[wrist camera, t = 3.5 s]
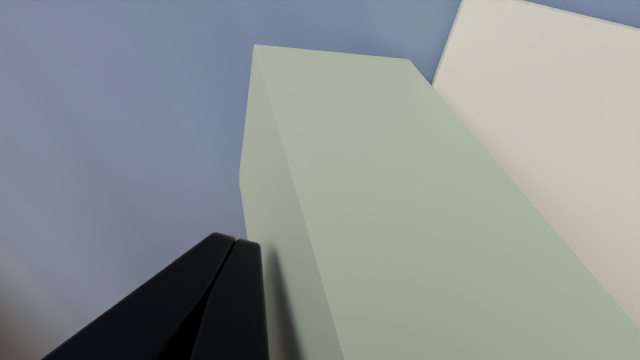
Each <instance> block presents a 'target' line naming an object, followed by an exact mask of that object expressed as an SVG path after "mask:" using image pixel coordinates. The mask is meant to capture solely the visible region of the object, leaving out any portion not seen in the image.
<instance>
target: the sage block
mask: <svg viewBox="0 0 640 360" xmlns="http://www.w3.org/2000/svg"><path fill="white" fill-rule="evenodd" d="M239 184H240V191H241V198H242V205H243V212H244V218H245V225H246V232H247V239H248V240H249V241H253V242H257V243H259V244H260V246H261V255H262V268H263V280H264V293H265V306H266V319H267V332H268V345H269V358H270V360H640V330H639V329H638V327H637V326H636V325H635V324H634V323H633V321H632V320H631V319H630V318H629V317H628V316H627V314H626V313H625V312H624V311H623V310H622V309H621V307H620V306H619V305H618V304H617V303H616V302H615V300H614V299H613V298H612V297H611V296H610V294H609V293H608V292H607V291H606V290H605V289H604V287H603V286H602V285H601V284H600V283H599V282H598V280H597V279H596V278H595V277H594V276H593V275H592V273H591V272H590V271H589V270H588V269H587V268H586V266H585V265H584V264H583V263H582V262H581V260H580V259H579V258H578V257H577V256H576V255H575V253H574V252H573V251H572V250H571V249H570V248H569V246H568V245H567V244H566V243H565V242H564V241H563V239H562V238H561V237H560V236H559V235H558V234H557V232H556V231H555V230H554V229H553V228H552V226H551V225H550V224H549V223H548V222H547V221H546V219H545V218H544V217H543V216H542V215H541V214H540V212H539V211H538V210H537V209H536V208H535V207H534V205H533V204H532V203H531V202H530V201H529V200H528V198H527V197H526V196H525V195H524V194H523V192H522V191H521V190H520V189H519V188H518V187H517V185H516V184H515V183H514V182H513V181H512V180H511V178H510V177H509V176H508V175H507V174H506V173H505V171H504V170H503V169H502V168H501V167H500V166H499V164H498V163H497V162H496V161H495V160H494V158H493V157H492V156H491V155H490V154H489V153H488V151H487V150H486V149H485V148H484V147H483V146H482V144H481V143H480V142H479V141H478V140H477V139H476V137H475V136H474V135H473V134H472V133H471V132H470V130H469V129H468V128H467V127H466V126H465V124H464V123H463V122H462V121H461V120H460V119H459V117H458V116H457V115H456V114H455V113H454V112H453V110H452V109H451V108H450V107H449V106H448V105H447V103H446V102H445V101H444V100H443V99H442V98H441V96H440V95H439V94H438V93H437V92H436V90H435V89H434V88H433V87H432V86H431V85H430V83H429V82H428V81H427V80H426V79H425V78H424V76H423V75H422V74H421V73H420V72H419V71H418V69H417V68H416V67H415V66H414V65H413V64H412V62H411V61H410V60H409V59H400V58H390V57H380V56H369V55H359V54H349V53H338V52H328V51H318V50H307V49H297V48H287V47H277V46H266V45H256V44H254V49H253V58H252V66H251V75H250V84H249V93H248V102H247V111H246V120H245V129H244V138H243V146H242V155H241V164H240V173H239Z"/></svg>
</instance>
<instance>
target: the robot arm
mask: <svg viewBox="0 0 640 360" xmlns="http://www.w3.org/2000/svg"><path fill="white" fill-rule="evenodd" d="M41 360H270V358H269V345H268V332H267V319H266V306H265V293H264V280H263V268H262V255H261V246H260V244H259V243H257V242H253V241H249V240H245V239H238V240H236V238H235V237H233V236H229V235H225V234H221V233H212V234H210V235H209V236H208V237H206V238H205V239H204V240H202V241H201V242H200V243H198V244H197V245H195V246H194V247H193V248H191V249H190V250H189V251H187V252H186V253H185V254H183V255H182V256H181V257H179V258H178V259H176V260H175V261H174V262H172V263H171V264H170V265H168V266H167V267H166V268H164V269H163V270H162V271H160V272H159V273H157V274H156V275H155V276H153V277H152V278H151V279H149V280H148V281H147V282H145V283H144V284H143V285H141V286H140V287H139V288H137V289H136V290H134V291H133V292H132V293H130V294H129V295H128V296H126V297H125V298H124V299H122V300H121V301H120V302H118V303H117V304H115V305H114V306H113V307H111V308H110V309H109V310H107V311H106V312H105V313H103V314H102V315H101V316H99V317H98V318H97V319H95V320H94V321H92V322H91V323H90V324H88V325H87V326H86V327H84V328H83V329H82V330H80V331H79V332H78V333H76V334H75V335H73V336H72V337H71V338H69V339H68V340H67V341H65V342H64V343H63V344H61V345H60V346H59V347H57V348H56V349H55V350H53V351H52V352H50V353H49V354H48V355H46V356H45V357H44V358H42V359H41Z"/></svg>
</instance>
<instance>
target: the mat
mask: <svg viewBox="0 0 640 360" xmlns="http://www.w3.org/2000/svg"><path fill="white" fill-rule="evenodd" d="M431 86H432V87H433V88H434V89H435V90H436V92H437V93H438V94H439V95H440V96H441V98H442V99H443V100H444V101H445V102H446V103H447V105H448V106H449V107H450V108H451V109H452V110H453V112H454V113H455V114H456V115H457V116H458V117H459V119H460V120H461V121H462V122H463V123H464V124H465V126H466V127H467V128H468V129H469V130H470V132H471V133H472V134H473V135H474V136H475V137H476V139H477V140H478V141H479V142H480V143H481V144H482V146H483V147H484V148H485V149H486V150H487V151H488V153H489V154H490V155H491V156H492V157H493V158H494V160H495V161H496V162H497V163H498V164H499V166H500V167H501V168H502V169H503V170H504V171H505V173H506V174H507V175H508V176H509V177H510V178H511V180H512V181H513V182H514V183H515V184H516V185H517V187H518V188H519V189H520V190H521V191H522V192H523V194H524V195H525V196H526V197H527V198H528V200H529V201H530V202H531V203H532V204H533V205H534V207H535V208H536V209H537V210H538V211H539V212H540V214H541V215H542V216H543V217H544V218H545V219H546V221H547V222H548V223H549V224H550V225H551V226H552V228H553V229H554V230H555V231H556V232H557V234H558V235H559V236H560V237H561V238H562V239H563V241H564V242H565V243H566V244H567V245H568V246H569V248H570V249H571V250H572V251H573V252H574V253H575V255H576V256H577V257H578V258H579V259H580V260H581V262H582V263H583V264H584V265H585V266H586V268H587V269H588V270H589V271H590V272H591V273H592V275H593V276H594V277H595V278H596V279H597V280H598V282H599V283H600V284H601V285H602V286H603V287H604V289H605V290H606V291H607V292H608V293H609V294H610V296H611V297H612V298H613V299H614V300H615V302H616V303H617V304H618V305H619V306H620V307H621V309H622V310H623V311H624V312H625V313H626V314H627V316H628V317H629V318H630V319H631V320H632V321H633V323H634V324H635V325H636V326H637V327H638V329H639V330H640V29H639V28H635V27H631V26H627V25H622V24H618V23H614V22H610V21H606V20H602V19H598V18H593V17H589V16H585V15H581V14H577V13H573V12H569V11H565V10H560V9H556V8H552V7H548V6H544V5H540V4H536V3H532V2H527V1H523V0H462V1H461V4H460V6H459V9H458V12H457V15H456V17H455V20H454V23H453V26H452V28H451V31H450V34H449V37H448V40H447V42H446V45H445V48H444V51H443V53H442V56H441V59H440V62H439V64H438V67H437V70H436V73H435V76H434V78H433V81H432V84H431Z"/></svg>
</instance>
